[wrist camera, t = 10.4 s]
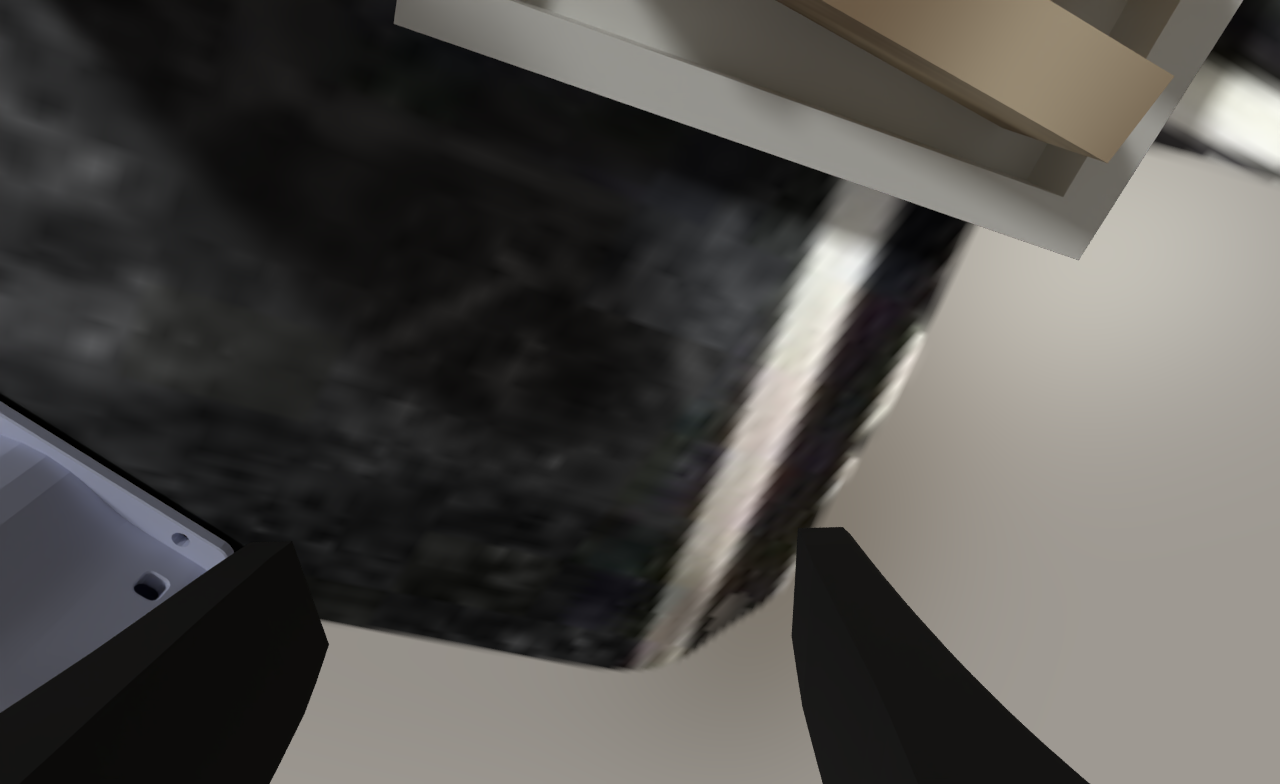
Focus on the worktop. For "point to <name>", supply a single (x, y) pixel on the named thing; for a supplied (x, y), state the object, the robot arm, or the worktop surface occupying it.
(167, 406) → the worktop surface
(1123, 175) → the tray
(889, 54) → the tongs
